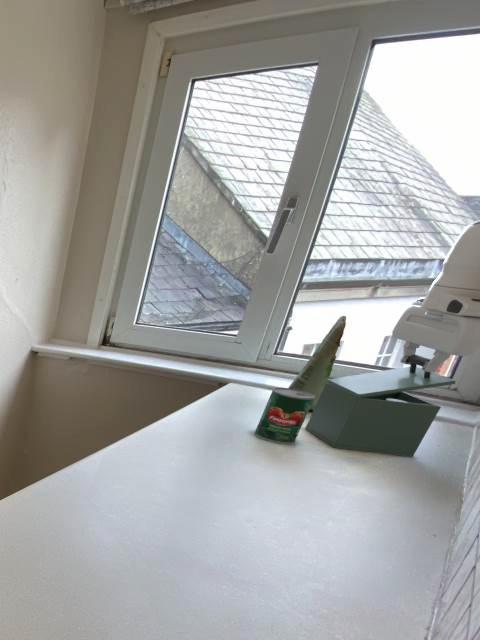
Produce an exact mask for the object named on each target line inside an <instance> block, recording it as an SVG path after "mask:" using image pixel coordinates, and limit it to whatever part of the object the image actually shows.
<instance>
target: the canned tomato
mask: <svg viewBox="0 0 480 640" xmlns="http://www.w3.org/2000/svg"><path fill="white" fill-rule="evenodd" d="M314 399H315V396H314V395H313V394H310V393H308V392H304V391H300V390H295V389H289V388H288V387H274V388H273V389H272V390H271V393H270V394H269V398H268V400H267V402H266V405H265V407H264V409H263V412H262V414H261V417H260V418H259V422H258V424H257V426H256V428H255V431H254V433H253V434H254V436H256V437H258V438H259V439H261V440H265V441H267V442H271V443H276V444H283V445H291V444H294V443H296V439H297V437H298V436H299V433H300V431H301V429H302V427H303V425H304V422H305V420H306V419H307V416H308V414H309V412H310V407H311V405H312V403H313V401H314Z"/></svg>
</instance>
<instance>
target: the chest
mask: <svg viewBox="0 0 480 640" xmlns="http://www.w3.org/2000/svg"><path fill="white" fill-rule="evenodd" d="M386 399H398V400H402V401H406V402H398V401H388V400H386ZM407 402H408V403H407ZM441 408H442V406H440V405H439V404H436V403H433V402H431V401H428V400H426V399H424V398H422V397H419V396H416V395H414V394H411V393H409V392H408V391H403V392H396V393H389V394H382V395H375V396H368V397H361V398H358V397H356V396H354V395H352V394H350V393H348V392H346V391H344V390H342V389H340V388H337V387H335V386H333V385H331V384H329V383H326V384H325V387H324V389H323V391H322V393H321V395H320V397H319V400H318V402H317V404H316V406H315V408H314V410H312V412H311V415H310V417H309V419H308V422H307V424H306V426H305V428H304V429H305V430H306V431H307V432H309V433H310V434H312V435H314V436H315V437H317V438H318V439H320V440H321V441H323V442H325V443H326V444H328V445H329V446H330V447H331V448H334V449H343V450H351V451H358V452H359V451H361V452H368V453H377V454H385V455H393V456H401V457H409V458H410V457H411V458H412V457H413V458H414V456H415V454H416V452H417V450H418V448H419V447H420V444H421V443H422V441H423V439H424V438H425V436H426V435H427V433H428V431H429V430H430V427H431V425H432V424H433V422H434V420H435V418H436V417H437V415H438V414H439V412H440V410H441Z"/></svg>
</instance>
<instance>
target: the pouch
mask: <svg viewBox="0 0 480 640" xmlns="http://www.w3.org/2000/svg"><path fill="white" fill-rule="evenodd" d="M346 321H347V315H341V316H339V318H338V319H337V320H336V322H334V324H333V326H332V327H331V328H330V329H329V331H328V332H327V333H326V335H325V336H324V337H323V339H322V340H321V343H320V344H319V346H318V347H317V348H316V350H315V351H314V353H313V354H312V355H311V357H310V358H309V359H308V361H307V362H306V364H305V365H304V366H303V367H302V369H301V370H300V372H299V373H298V374H297V376H296V377H295V378H294V379H293V381H292V382H291V383H290V385H289V386H288V387H287V388H289V389H295V390H300V391H304V392H308V393H310V394H313V395H314V396H315V399H314V401H313V403H312V405H311V407H310V409H309V411H314V408H315V406H316V404H317V402H318V400H319V397H320V395H321V393H322V391H323V389H324V387H325V384H326V383H327V379H330V376H331V374H332V371H333V366H334V364H335V361H336V360H337V352H338V350H339V348H340V347H341V341H342V338H343V336H344V333H345V332H344V331H345V328H346V324H347V322H346Z"/></svg>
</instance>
